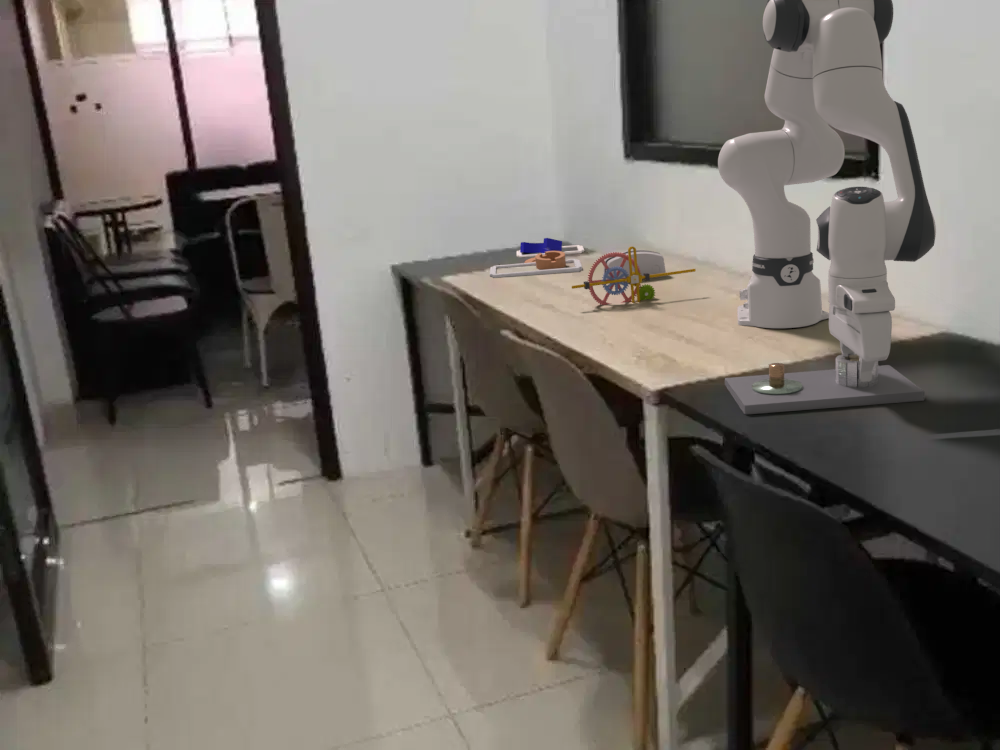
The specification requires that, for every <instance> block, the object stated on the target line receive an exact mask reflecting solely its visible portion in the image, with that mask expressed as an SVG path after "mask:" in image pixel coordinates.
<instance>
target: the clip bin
mask: <svg viewBox="0 0 1000 750" xmlns="http://www.w3.org/2000/svg"><path fill="white" fill-rule="evenodd" d="M571 248H573V249H574V248H576V249H577V250H568V251H563V252H564V253H565V255H574V254H577V255H578V254H583V253H585V249H584V246H583V245H580V244H575V245H564V246H563V245H562V249H571ZM537 254H538V253H529V254H523V253H521V252H520V249H519V250H516V257H517V258H519V259H520V258H534V257H535V256H536V255H537ZM542 255H545V253H542Z"/></svg>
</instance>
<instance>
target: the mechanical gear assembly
mask: <svg viewBox="0 0 1000 750" xmlns="http://www.w3.org/2000/svg"><path fill="white" fill-rule="evenodd" d="M631 250H633V252H634V260H633V258H632V257H631ZM636 250H637V249H636V247H635V246H629V247H628V248H627V251H628V255H626V254H624V253H622V254H621V252H619V251H615V252H614V251H613V252H608V253H605V254H603V255H601V256H599V258H597V259H596V260H595V261H594V262H593V263H592V265H591V266H590V270H588V271H589V272H588V275H587V276H588V277H587V279H586V280H587V281H583V284H577V285H571V289H572V290H573V289H580V288H583V289H585V290H588V291H589V293H590V295H591V297H592V299H593V300H594V301H595V302H596V303H597V304H599V305H601V306H604V305H612V303H610V302H607V301H608V299H609V297H610V295H612V296H613V295H614V296H619V295H621V296H622V297H623V299H624V300H623V301H621V302H620V303H630V302H632V303H633V304H635V299H636V301H637V303H641V301H644V300H653V299H655V296H656V292H655V291H656V289H655V288H654V287H653V285H651V284H647V283H644V284H642V283H643V281H645V282H648V281H650V280H651V279H652V278H659V276H661V277H666V276H673V275H679V274H680V275H681V274H687V273H694V272H696V268H690V269H683V270H682V269H681V270H675V271H669V272H668V271H667V272H666V273H661V274H653V275H649V273H644V276H642V275H640V274H641V273H640V271H641V270H639V269H640V268H638V267H639V266H637V265H638V264H637V255H636ZM610 257H622V258H623V261H622V263H621V265H620V267H618V266H616V267H615V266H614V268H613V267H612V268H609V267H608V266H607V264H606V262H605V260H606V259H607V258H610ZM626 260H628V261H629V271H630V275H629V274H627V273H628V272H627V271H626V270H624V268H623V266H624V264H625V262H626ZM600 264H602V265H603V268H604V267H605V269H606V270H607V271H606V273H604V272H603V273H604V274H605V275H603V274H602V277H601V278H602V279H598V280H597V279H596V280H595V279H594V280H593V276H594V273H595V272H596V269H597V267H599V265H600ZM632 265H633V266H634V268H635V273H634V272H632ZM622 268H623V269H622ZM617 270H618V271H617ZM612 271H614V275H613V273H612ZM620 272H623V274H621V275H620V276H619V274H620ZM608 274H609V275H610V276H608ZM628 275H629V276H628ZM603 276H604V277H603ZM618 276H619V277H618ZM624 276H625V277H626V278H622V277H624ZM606 278H607V279H606ZM629 285H630V292H631V293H630V296H629V297H628V296H627V294H626V293H625V292H626V291H627V290H626V289H628V287H629ZM594 286H602V288H603V290H605V292H606V294H605V296H604V298H603V300H602V299H601V298H600V297H599V296H598V295H597V293H596V292H595V289H594ZM622 286H623V287H622ZM634 287H635V288H634ZM613 289H614V290H613Z"/></svg>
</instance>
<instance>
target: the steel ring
mask: <svg viewBox="0 0 1000 750" xmlns="http://www.w3.org/2000/svg"><path fill="white" fill-rule="evenodd" d="M852 359H859V356H858V355H857V354H856V353H846V354H842V353H841V354H838V355H837V356H836V357H835V369H836V383H838V384H839V385H843V386H847V387H868V386H872V385H875V384H876V383H877V382H878V366H879V361H875V364H874V367H873V370H872V380H871V381H869V382H862V381H861V380H859V379H858V369H860V361H850V360H852Z"/></svg>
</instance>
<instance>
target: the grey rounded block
mask: <svg viewBox="0 0 1000 750" xmlns="http://www.w3.org/2000/svg"><path fill="white" fill-rule="evenodd" d="M620 253H621V254H622V253H624V254H626V255H628V250H625V251H623V252H620ZM636 255H637V264H638V265H637V266H639V267H638V268H640V269H639V270H641V271H640V273H641V274H640V275H642V276H644V273H649V275H653V274H661V273H667V272H666V266H665V258H664V256H663V255H662V254H661V253H660V252H657V251H652V250H647V249H636ZM631 257H632V258H633V260H634V252H633V249H631ZM604 261H605V262H606V264H607V266H608V267H609V268H612V267H613V268H614V266H615V267H616V266H618V267H620V265H621V263H622V261H623V258H622V257H610V258H607V259H605V260H604ZM623 268H624V270H626V271H627V272H628V273H627V274H629V275H630V271H629V261H628V260H626V262H625V264H624V266H623ZM623 268H622V269H623ZM606 271H607V270H606V269H605V267H604V266H603V273H602V277H604V276H603V275H605V274H604V273H606ZM617 271H618V270H617ZM632 272H634V273H635V268H634V266H633V265H632ZM612 273H613V275H614V271H612ZM621 274H623V272H620V274H619V276H620V275H621ZM629 275H628V276H629ZM608 276H610V275H609V274H608ZM619 276H618V277H619ZM659 277H662V276H659ZM659 277H658V278H659ZM622 278H626V277H625V276H624V277H622ZM606 279H607V278H606Z"/></svg>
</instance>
